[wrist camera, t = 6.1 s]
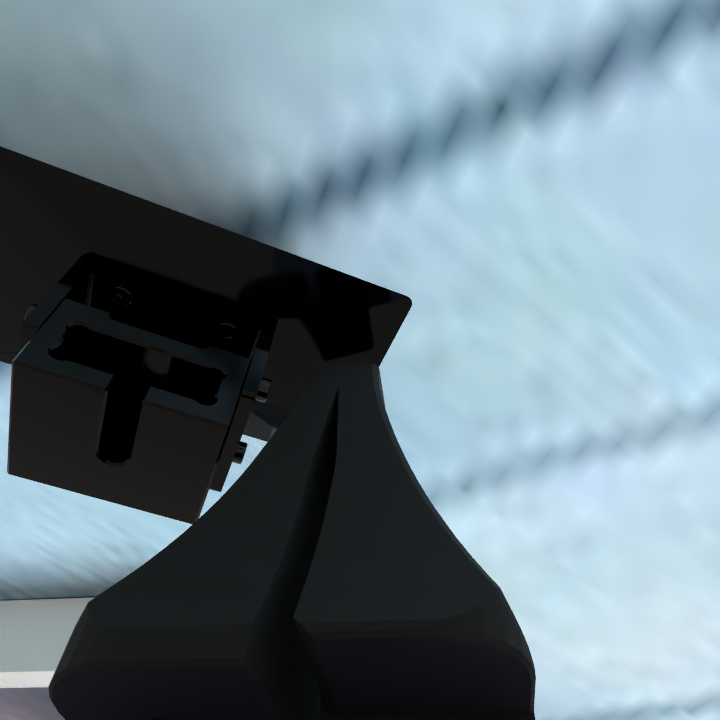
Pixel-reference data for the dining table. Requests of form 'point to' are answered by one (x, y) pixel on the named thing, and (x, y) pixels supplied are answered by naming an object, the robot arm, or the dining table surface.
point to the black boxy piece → (157, 339)
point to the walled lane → (35, 638)
